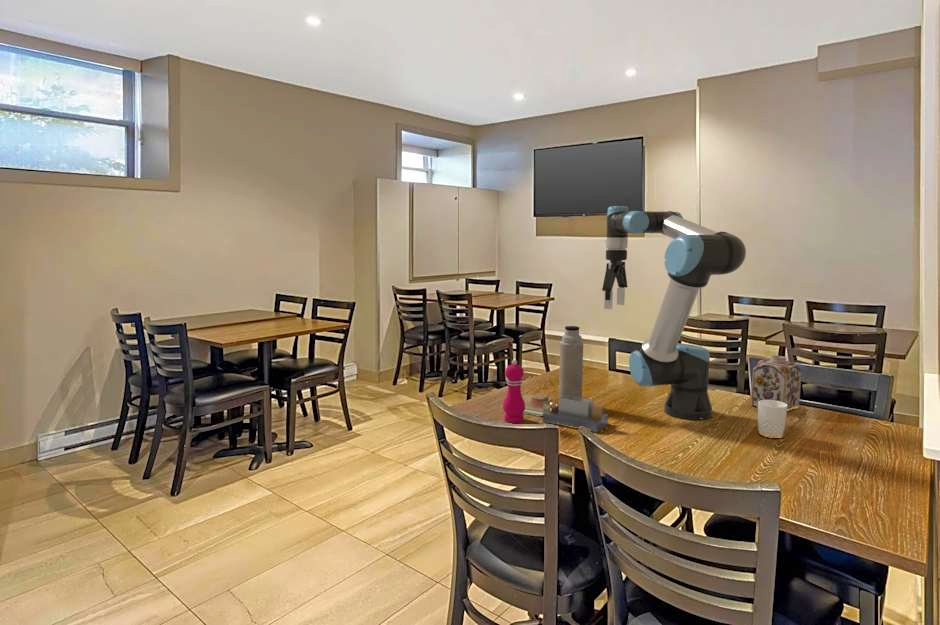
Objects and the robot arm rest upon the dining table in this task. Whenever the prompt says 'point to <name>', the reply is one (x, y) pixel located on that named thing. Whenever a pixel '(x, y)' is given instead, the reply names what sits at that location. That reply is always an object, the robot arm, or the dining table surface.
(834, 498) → the dining table surface
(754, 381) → the decorative jar
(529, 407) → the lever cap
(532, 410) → the rubber mat
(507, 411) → the pepper mill
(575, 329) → the thermos bottle
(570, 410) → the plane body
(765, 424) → the white cup
